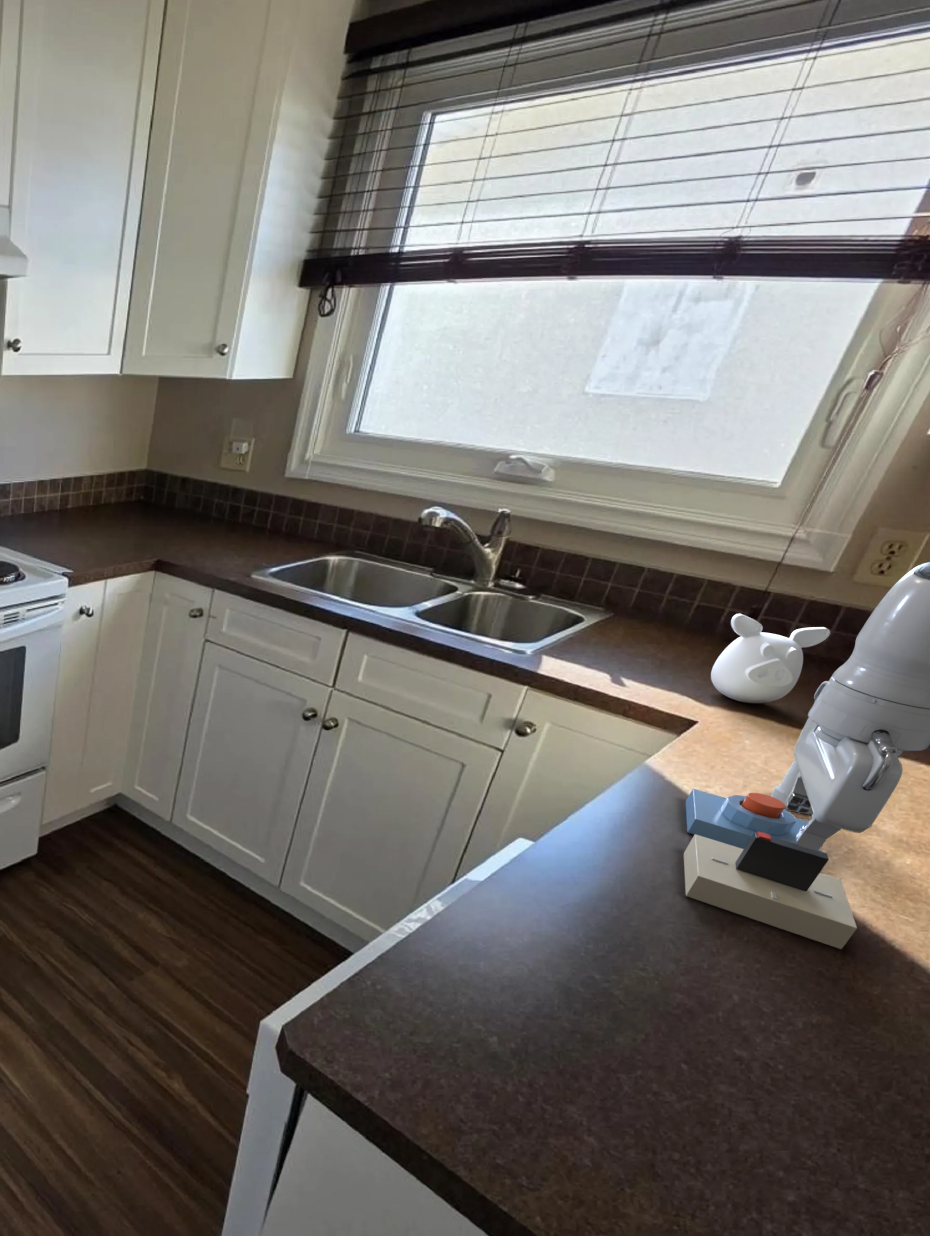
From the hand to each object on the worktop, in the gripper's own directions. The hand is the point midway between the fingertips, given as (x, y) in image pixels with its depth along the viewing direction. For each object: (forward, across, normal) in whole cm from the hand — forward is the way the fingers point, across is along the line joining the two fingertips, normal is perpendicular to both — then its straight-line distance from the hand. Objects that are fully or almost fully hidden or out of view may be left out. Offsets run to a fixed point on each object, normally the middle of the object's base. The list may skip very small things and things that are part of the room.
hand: (799, 826), depth 88 cm
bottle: (+10, +32, -6) cm, 34 cm away
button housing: (+10, +17, 0) cm, 20 cm away
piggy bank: (+10, +75, -3) cm, 76 cm away
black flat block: (+7, 0, 0) cm, 7 cm away
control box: (+10, 0, 0) cm, 10 cm away
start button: (+6, +17, 0) cm, 18 cm away
